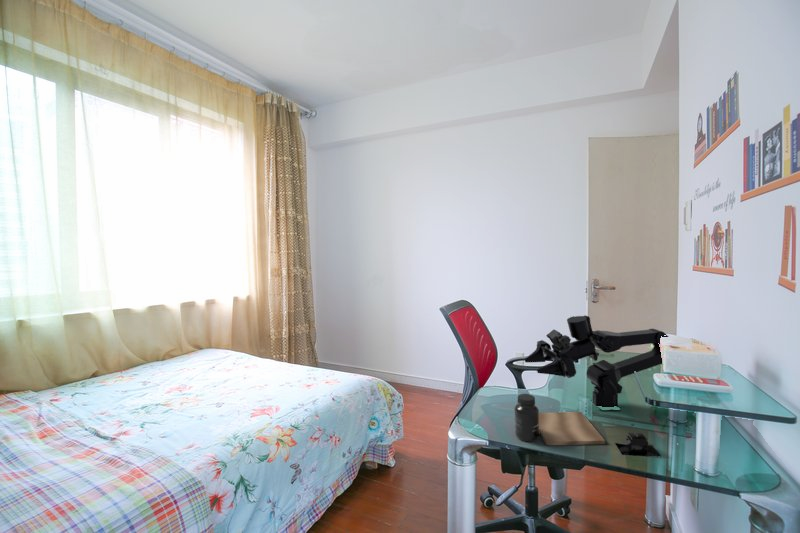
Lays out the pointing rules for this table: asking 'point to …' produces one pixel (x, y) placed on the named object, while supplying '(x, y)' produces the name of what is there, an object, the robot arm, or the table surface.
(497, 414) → the table surface
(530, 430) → the supplement bottle
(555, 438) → the board
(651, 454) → the black block on base
